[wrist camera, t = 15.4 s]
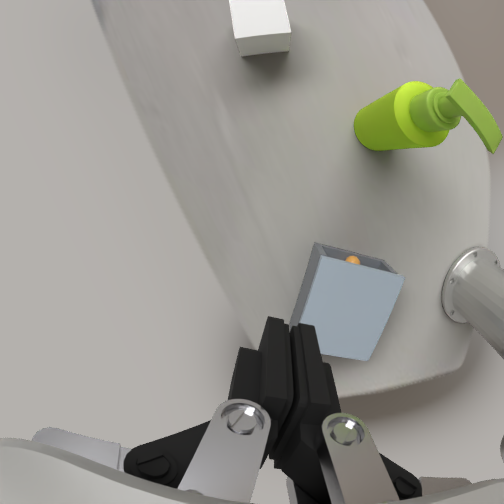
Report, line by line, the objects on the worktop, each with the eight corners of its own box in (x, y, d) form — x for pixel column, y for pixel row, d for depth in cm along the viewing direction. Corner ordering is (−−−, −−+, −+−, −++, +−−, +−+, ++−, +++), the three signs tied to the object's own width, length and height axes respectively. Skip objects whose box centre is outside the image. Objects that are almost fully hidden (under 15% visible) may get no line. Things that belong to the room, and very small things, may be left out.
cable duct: (384, 260, 37) (397, 273, 32) (354, 335, 40) (362, 355, 35) (314, 242, 37) (320, 254, 32) (289, 323, 40) (290, 343, 36)
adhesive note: (281, 14, 28) (282, -8, 23) (288, 51, 30) (291, 32, 24) (235, 20, 29) (228, -2, 23) (240, 56, 31) (234, 38, 25)
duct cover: (402, 275, 32) (405, 278, 31) (366, 357, 35) (368, 360, 34) (320, 255, 32) (321, 257, 31) (291, 344, 35) (291, 348, 34)
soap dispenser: (385, 165, 33) (485, 175, 14) (344, 129, 32) (419, 96, 13) (410, 133, 32) (515, 119, 12) (370, 96, 31) (455, 44, 12)
